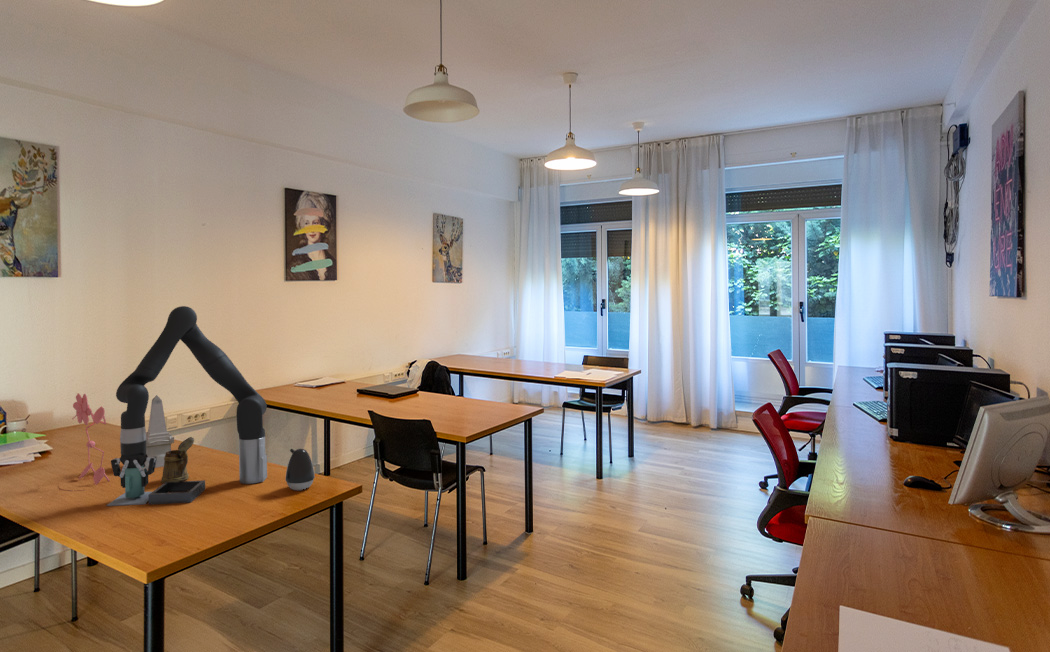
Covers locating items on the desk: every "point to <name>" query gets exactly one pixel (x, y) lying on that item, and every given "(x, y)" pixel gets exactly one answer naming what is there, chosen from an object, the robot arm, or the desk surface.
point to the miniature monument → (157, 434)
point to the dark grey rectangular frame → (177, 492)
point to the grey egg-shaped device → (299, 470)
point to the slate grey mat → (130, 500)
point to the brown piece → (177, 463)
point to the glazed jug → (133, 483)
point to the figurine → (83, 413)
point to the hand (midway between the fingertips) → (134, 486)
